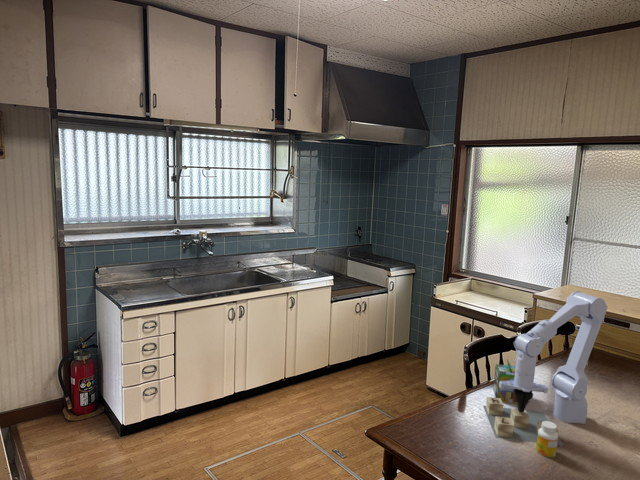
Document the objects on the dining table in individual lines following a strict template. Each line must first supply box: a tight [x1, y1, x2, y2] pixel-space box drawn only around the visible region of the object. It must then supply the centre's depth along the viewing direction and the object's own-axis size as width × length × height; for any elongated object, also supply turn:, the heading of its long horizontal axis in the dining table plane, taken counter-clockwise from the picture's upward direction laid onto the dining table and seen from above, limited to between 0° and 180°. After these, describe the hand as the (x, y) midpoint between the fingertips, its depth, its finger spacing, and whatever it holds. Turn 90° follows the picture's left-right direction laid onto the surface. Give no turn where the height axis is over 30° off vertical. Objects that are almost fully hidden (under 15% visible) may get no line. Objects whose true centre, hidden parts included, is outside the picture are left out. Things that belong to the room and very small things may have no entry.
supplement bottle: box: [535, 420, 559, 458], centre depth 137 cm, size 5×5×10 cm
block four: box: [485, 396, 505, 416], centre depth 159 cm, size 4×4×4 cm
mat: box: [482, 405, 565, 447], centre depth 152 cm, size 20×20×1 cm
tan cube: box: [537, 421, 559, 435], centre depth 145 cm, size 4×4×4 cm
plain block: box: [510, 408, 529, 428], centre depth 152 cm, size 4×4×4 cm
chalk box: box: [492, 358, 517, 404], centre depth 170 cm, size 9×9×15 cm
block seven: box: [494, 416, 514, 437], centre depth 147 cm, size 4×4×4 cm
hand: (520, 410), depth 152 cm, fingers closed
